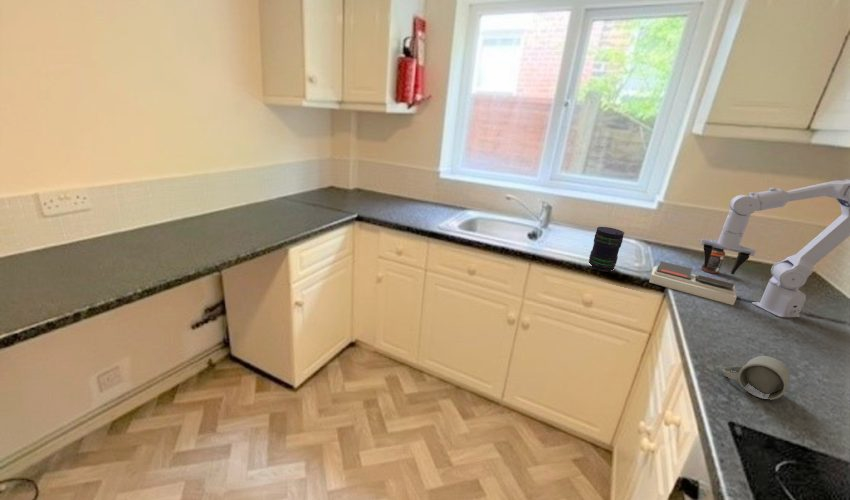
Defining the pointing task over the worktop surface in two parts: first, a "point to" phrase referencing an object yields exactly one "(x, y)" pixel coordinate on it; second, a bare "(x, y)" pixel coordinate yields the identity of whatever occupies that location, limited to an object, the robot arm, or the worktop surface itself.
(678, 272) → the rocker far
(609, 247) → the storage jar
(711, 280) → the rocker near
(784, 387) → the ceramic mug
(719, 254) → the supplement bottle
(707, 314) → the worktop surface
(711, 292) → the rocker switch panel
